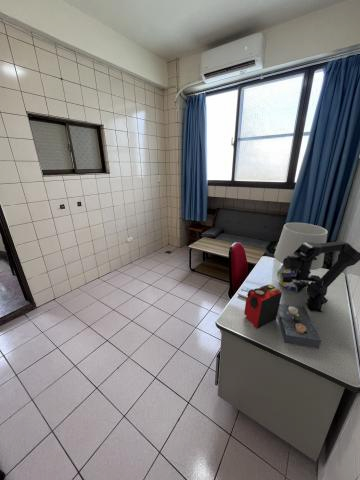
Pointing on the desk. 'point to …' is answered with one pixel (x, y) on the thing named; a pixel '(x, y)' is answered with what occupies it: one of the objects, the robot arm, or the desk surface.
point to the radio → (262, 305)
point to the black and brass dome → (296, 317)
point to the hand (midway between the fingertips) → (297, 292)
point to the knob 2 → (300, 328)
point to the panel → (288, 327)
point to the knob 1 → (292, 310)
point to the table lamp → (293, 240)
